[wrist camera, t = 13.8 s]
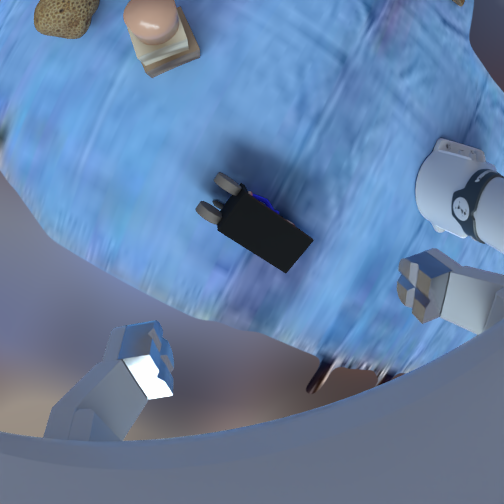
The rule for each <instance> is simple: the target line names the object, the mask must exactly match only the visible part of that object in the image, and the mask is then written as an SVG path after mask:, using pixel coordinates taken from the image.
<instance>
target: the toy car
mask: <svg viewBox="0 0 504 504" xmlns="http://www.w3.org/2000/svg"><path fill="white" fill-rule="evenodd" d="M214 182H215V183H216V184H217V185H219V186H220V187H221V188H222V189H224V190H225V191H227V192H229V193H230V194H232V196H231V197H230V198H229V200H228V201H227V203H226V204H225V205H223V204H222V203H220V202H218V201H213V204H214V206H216V207H218V208H219V209H221V211H219V210H218V209H216V208H215V207H214V206H212V205H211V204H209V203H207V202H204V201H201V202H200V203H199V204H198V206H197V207H196V212H197V213H198V214H199V215H200V216H201V217H203V218H204V219H205V220H207V221H209V222H210V223H213V224H216V225H217V228H218V231H219V232H221V233H222V234H224V235H226V236H227V237H229V238H230V239H232V240H234V241H235V242H237V243H238V244H240V245H241V246H243V247H245V248H246V249H248V250H249V251H251V252H253V253H254V254H256V255H257V256H259V257H261V258H262V259H264V260H265V261H267V262H269V263H270V264H272V265H273V266H275V267H276V268H278V269H280V270H281V271H283V272H284V273H287V272H288V271H289V269H290V268H291V267H292V266H293V265H294V263H295V262H296V261H297V260H298V259H299V257H300V256H301V255H302V254H303V253H304V251H305V250H306V249H307V248H308V247H309V245H310V244H311V243H312V242H313V241H314V240H313V239H312V238H311V237H309V236H308V235H307V234H305V233H304V232H303V231H301V230H300V229H298V228H297V227H296V226H295V225H294V224H293V223H292V222H290V221H288V220H286V219H284V218H283V217H282V216H280V215H279V211H277V210H274V208H273V207H272V205H271V204H270V202H269V200H268V199H266V198H264V197H261V196H259V195H256V194H253V193H252V192H251V191H247V189H246V187H245V185H243V184H242V183H240V185H239V184H238V183H236V182H235V181H234V180H232V179H231V178H229V177H228V176H226V175H225V174H223V173H220V172H219V173H218V174H217V176H216V177H215V179H214ZM260 201H261V202H260ZM262 202H264V203H265V204H266V205H265V204H263V203H262Z"/></svg>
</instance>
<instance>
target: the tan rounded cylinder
mask: <svg viewBox="0 0 504 504" xmlns="http://www.w3.org/2000/svg"><path fill="white" fill-rule="evenodd" d="M123 17H124V22H125V24H126V25H127V26H128V28H129V29H130V30H131V31H132V33H133V34H134V35H135V36H136V38H137V39H138V40H139V41H140V42H142V43H144V44H146V45H159V44H162V43H165V42H167V41H168V40H170V39H171V38H172V37H173V36H174V35H175V34H176V32H177V30H178V28H179V18H178V14H177V9H176V5H175V1H174V0H131V1H130V2H129V3H128V4H127V6H126V8H125V10H124V15H123Z"/></svg>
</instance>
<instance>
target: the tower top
mask: <svg viewBox="0 0 504 504" xmlns="http://www.w3.org/2000/svg"><path fill="white" fill-rule="evenodd" d="M177 14H178V12H177ZM178 18H179V28H178V30H177V32H176V34H175V35H174V36H173V37H172V38H171V39H170V40H168V41H167V42H165V43H162V44H159V45H146V44H144V43H142V42H140V41H139V40H138V39H137V38H136V36H135V35H134V34H133V33H132V31H131V30H130V29H129V28H128V26H127V28H128V31H129V34H130V37H131V40H132V43H133V46H134V49H135V52H136V55H137V58H138V59H139V60H140V61H141V62H142V63H143V64H144V65H145V66H147V65H150V64H152V63H154V62H157V61H160V60H162V59H165V58H167V57H170V56H173V55H175V54H178V53H181V52H184V51H187V50H189V47H188V40H187V37H186V34H185V31H184V28H183V26H182V23H181V20H180V17H179V15H178Z"/></svg>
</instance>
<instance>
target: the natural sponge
mask: <svg viewBox="0 0 504 504" xmlns="http://www.w3.org/2000/svg"><path fill="white" fill-rule="evenodd" d="M99 2H100V0H40V1H39V3H38V4H37V6H36V8H35V12H34V25H35V28H36V30H37V31H38V32H40V33H41V34H44V35H49V36H56V37H62V38H67V39H77V38H80V37H82V36H83V35H84V34H85V33H86V32H87V30H88V28H89V26H90V23H91V18H92V15H93V14H94V13H95V11H96V10H97V8H98V6H99Z"/></svg>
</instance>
